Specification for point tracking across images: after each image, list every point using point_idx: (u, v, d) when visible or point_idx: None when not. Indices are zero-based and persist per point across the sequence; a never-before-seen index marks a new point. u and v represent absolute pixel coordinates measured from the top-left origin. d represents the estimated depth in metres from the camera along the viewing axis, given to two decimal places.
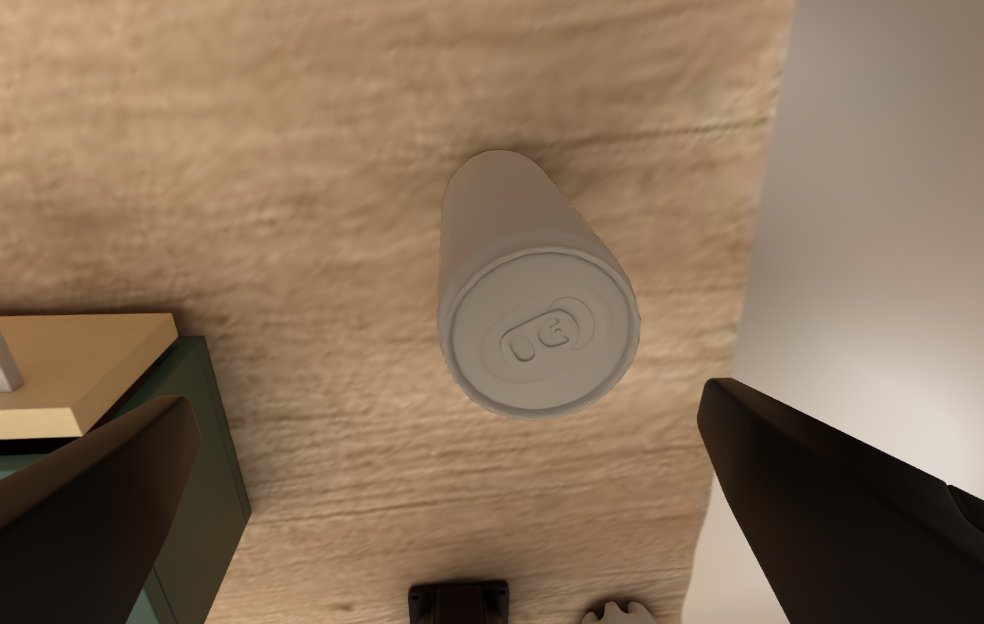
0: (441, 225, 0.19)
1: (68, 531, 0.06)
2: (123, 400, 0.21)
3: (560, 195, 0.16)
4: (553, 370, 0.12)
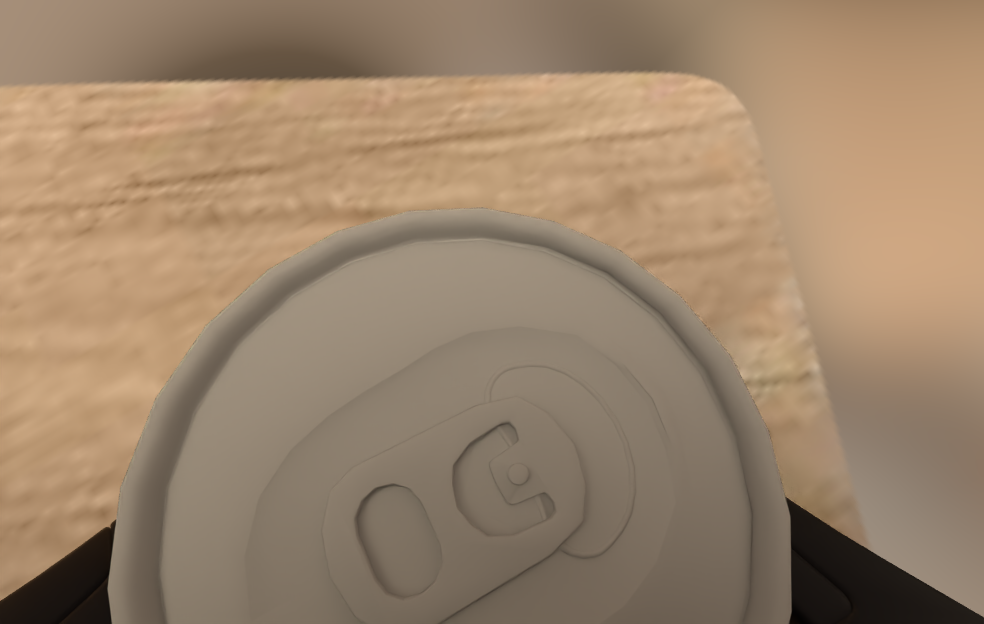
0: None
1: None
2: None
3: None
4: None
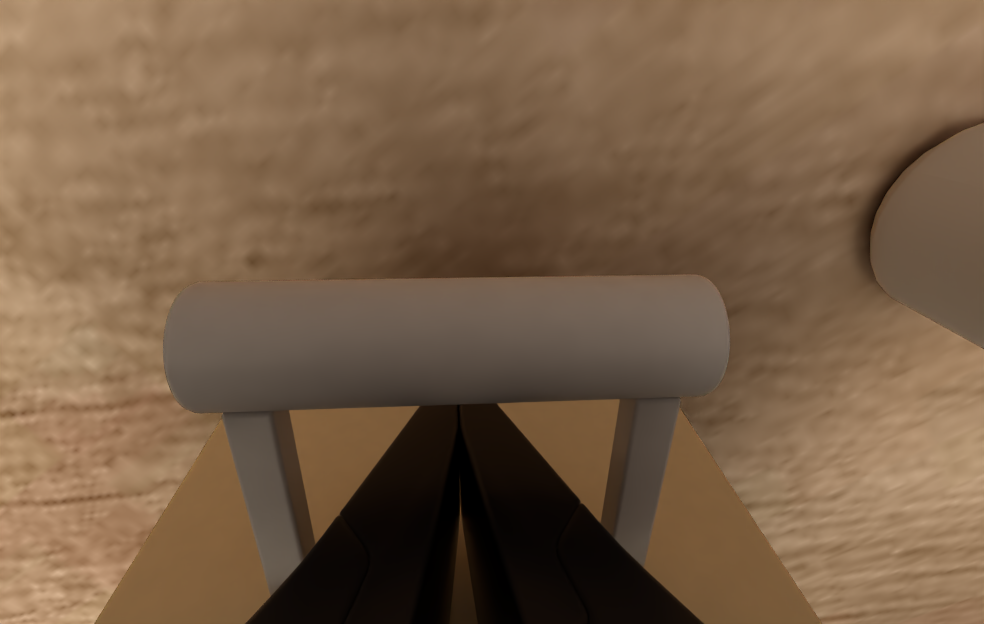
0: None
1: None
2: None
3: None
4: None
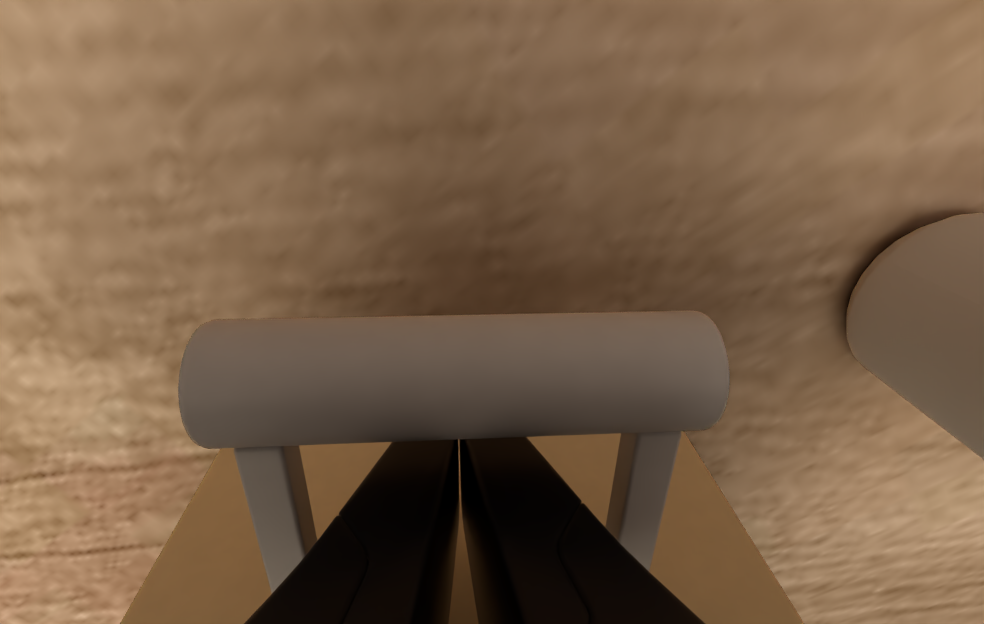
0: (964, 361, 0.10)
1: None
2: None
3: None
4: None
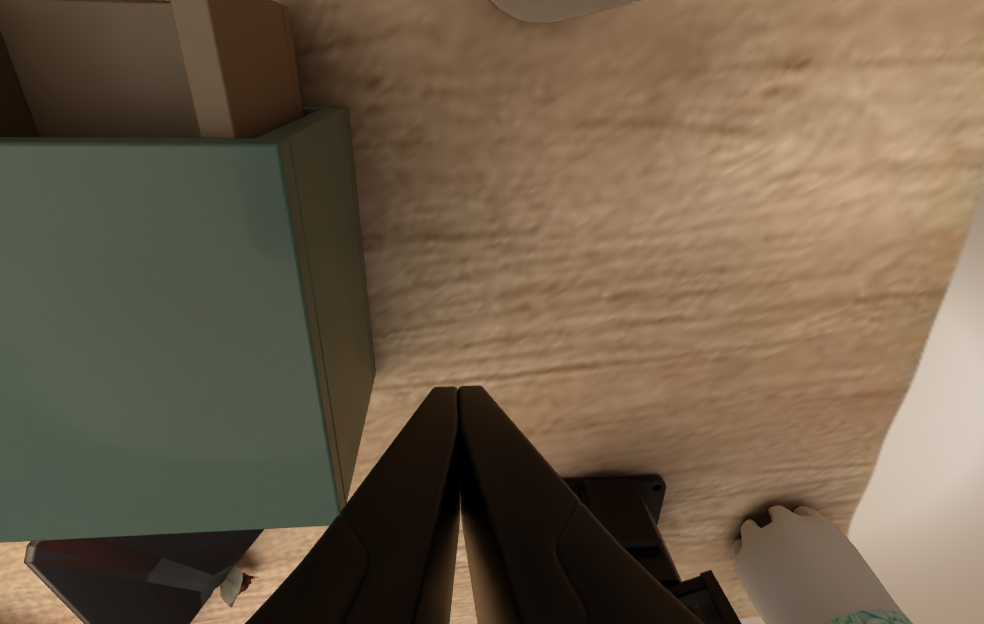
0: None
1: None
2: None
3: None
4: None
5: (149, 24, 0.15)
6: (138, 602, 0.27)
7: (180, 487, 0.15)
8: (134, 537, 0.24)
